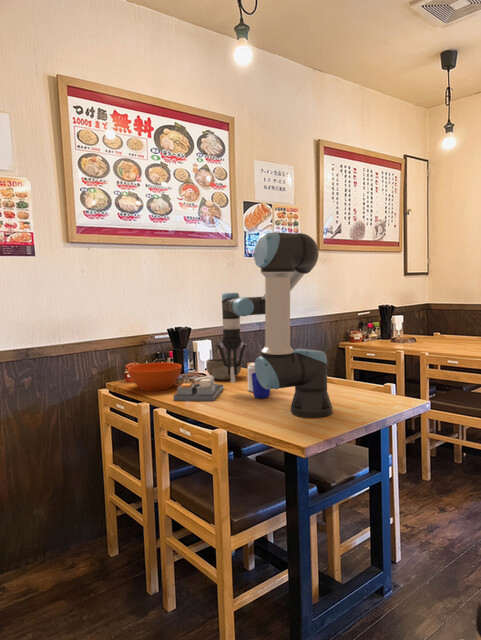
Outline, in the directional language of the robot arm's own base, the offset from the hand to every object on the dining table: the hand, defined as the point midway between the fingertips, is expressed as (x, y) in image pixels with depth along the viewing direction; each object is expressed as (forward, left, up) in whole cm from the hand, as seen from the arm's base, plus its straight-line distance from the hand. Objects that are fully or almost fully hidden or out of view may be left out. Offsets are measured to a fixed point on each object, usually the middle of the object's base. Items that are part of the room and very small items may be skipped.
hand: (233, 382), depth 200 cm
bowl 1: (+11, +39, -6) cm, 41 cm away
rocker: (+6, +15, 0) cm, 16 cm away
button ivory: (-8, +10, -1) cm, 13 cm away
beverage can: (+6, -10, -6) cm, 13 cm away
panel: (-2, +15, -5) cm, 16 cm away
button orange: (-8, +19, -3) cm, 21 cm away
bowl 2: (+33, +10, -6) cm, 35 cm away
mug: (-8, -13, -6) cm, 16 cm away
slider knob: (0, +10, -3) cm, 11 cm away
